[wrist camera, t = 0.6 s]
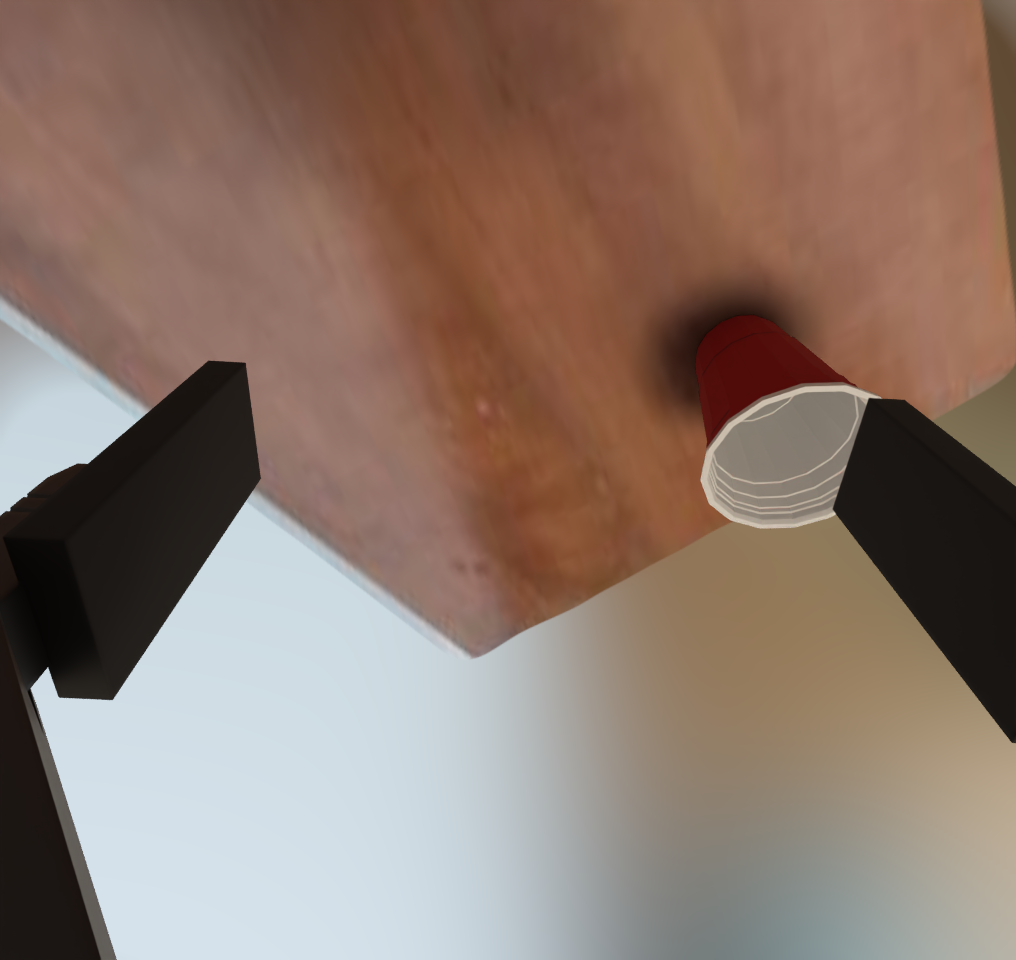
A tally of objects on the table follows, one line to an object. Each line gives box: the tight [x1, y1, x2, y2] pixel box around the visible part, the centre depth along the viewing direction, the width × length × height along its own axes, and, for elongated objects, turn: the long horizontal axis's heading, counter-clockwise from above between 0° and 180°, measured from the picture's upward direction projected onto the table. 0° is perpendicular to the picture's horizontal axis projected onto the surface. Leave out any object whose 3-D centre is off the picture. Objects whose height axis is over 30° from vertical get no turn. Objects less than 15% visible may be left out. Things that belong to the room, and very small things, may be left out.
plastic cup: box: [695, 315, 882, 528], centre depth 43 cm, size 11×11×12 cm
